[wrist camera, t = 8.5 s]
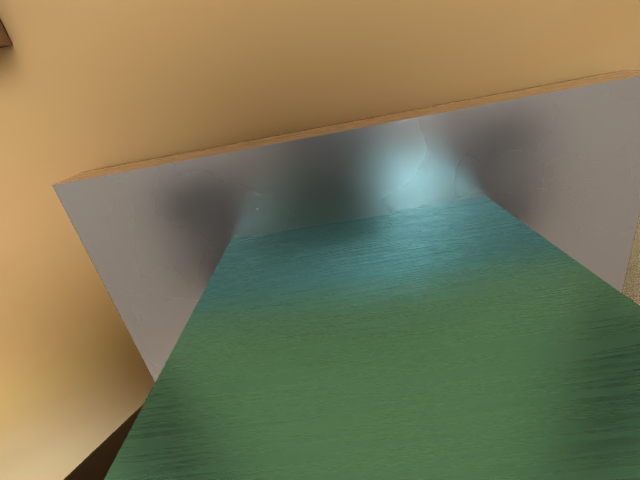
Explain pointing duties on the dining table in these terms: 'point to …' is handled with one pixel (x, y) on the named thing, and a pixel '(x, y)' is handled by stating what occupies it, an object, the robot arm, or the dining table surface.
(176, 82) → the dining table surface
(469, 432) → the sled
